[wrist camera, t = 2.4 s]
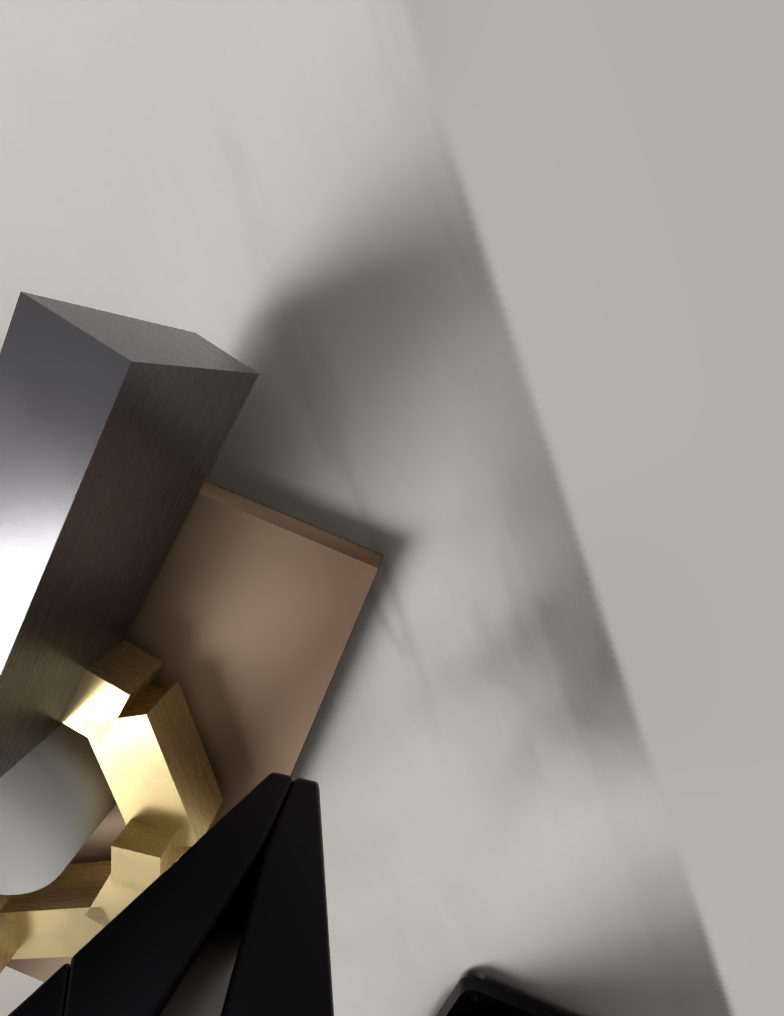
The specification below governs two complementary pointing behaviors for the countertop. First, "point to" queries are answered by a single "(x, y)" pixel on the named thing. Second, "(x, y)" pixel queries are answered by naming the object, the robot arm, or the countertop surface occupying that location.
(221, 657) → the flange board
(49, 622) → the gold ring with handle
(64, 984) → the robot arm
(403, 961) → the countertop surface
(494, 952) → the countertop surface
